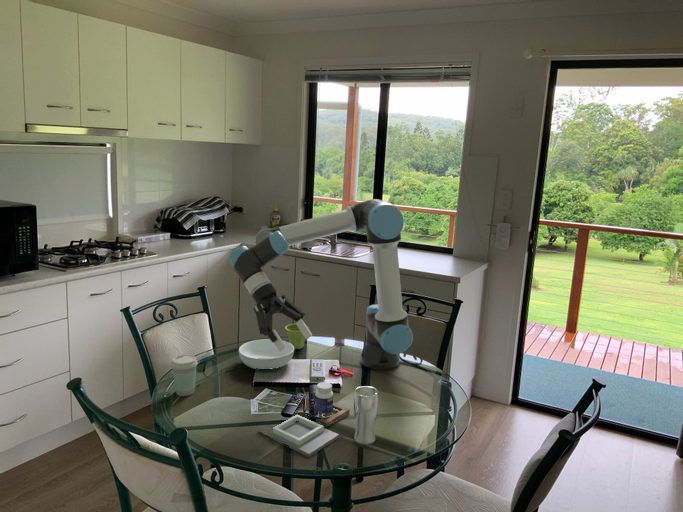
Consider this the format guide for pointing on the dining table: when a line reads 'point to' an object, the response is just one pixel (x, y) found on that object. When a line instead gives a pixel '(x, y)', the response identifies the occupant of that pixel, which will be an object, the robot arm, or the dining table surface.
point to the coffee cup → (184, 374)
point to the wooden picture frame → (335, 417)
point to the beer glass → (365, 414)
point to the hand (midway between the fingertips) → (296, 343)
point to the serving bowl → (265, 354)
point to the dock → (303, 435)
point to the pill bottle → (324, 399)
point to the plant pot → (295, 336)
